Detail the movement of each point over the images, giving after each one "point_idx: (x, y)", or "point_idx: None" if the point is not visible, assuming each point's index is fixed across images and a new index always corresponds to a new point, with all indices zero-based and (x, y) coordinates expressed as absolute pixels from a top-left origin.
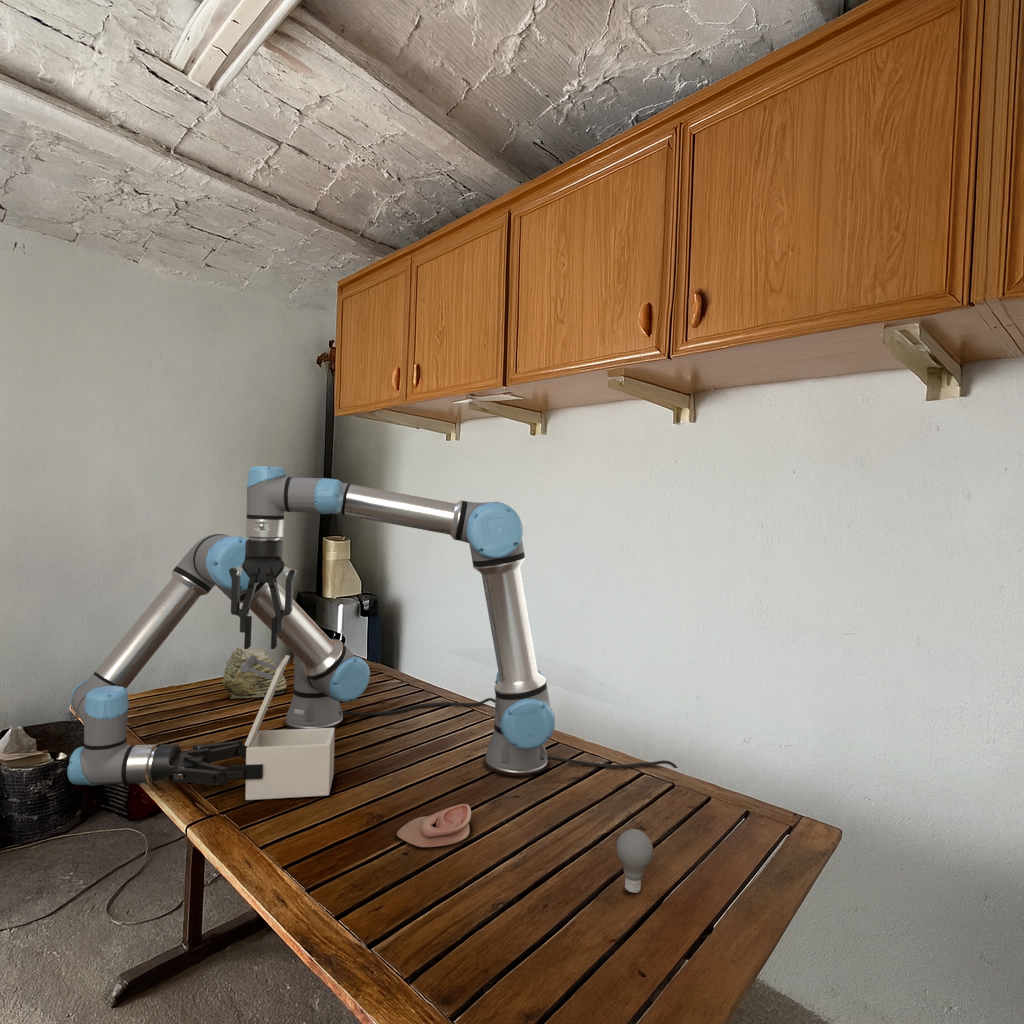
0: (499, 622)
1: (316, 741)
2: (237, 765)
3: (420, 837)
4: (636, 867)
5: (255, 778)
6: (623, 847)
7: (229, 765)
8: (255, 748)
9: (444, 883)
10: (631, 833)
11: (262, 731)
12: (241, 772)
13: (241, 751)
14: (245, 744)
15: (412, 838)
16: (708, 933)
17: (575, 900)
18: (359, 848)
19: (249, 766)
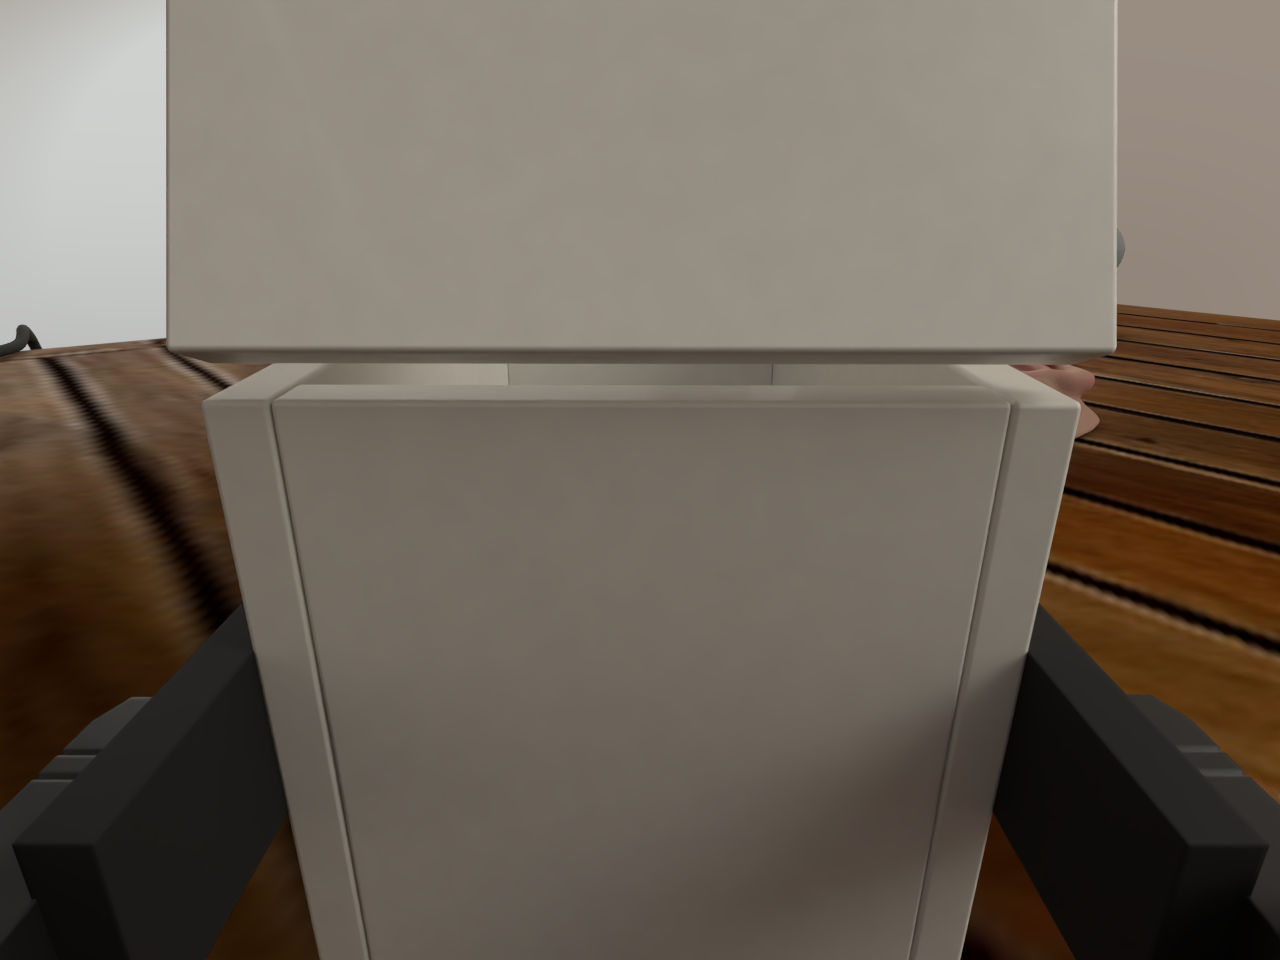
0: None
1: (487, 367)
2: (1124, 730)
3: (1080, 402)
4: None
5: None
6: (1118, 241)
7: (1203, 846)
8: (1016, 369)
9: (1238, 409)
10: None
11: (306, 372)
12: (1178, 724)
13: (123, 937)
14: (1106, 331)
15: (1082, 416)
16: (1137, 314)
17: (1146, 346)
18: (1201, 495)
19: (1054, 623)
